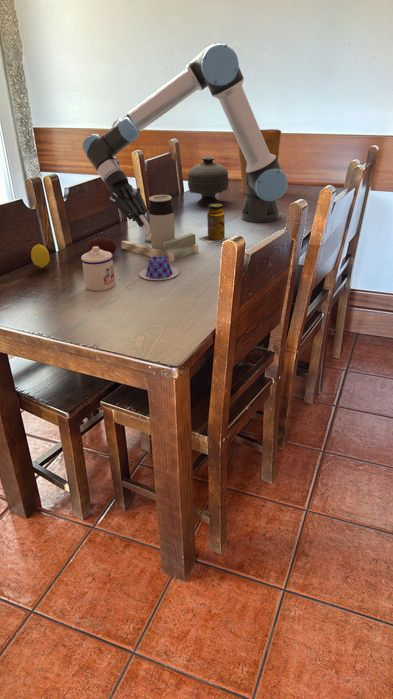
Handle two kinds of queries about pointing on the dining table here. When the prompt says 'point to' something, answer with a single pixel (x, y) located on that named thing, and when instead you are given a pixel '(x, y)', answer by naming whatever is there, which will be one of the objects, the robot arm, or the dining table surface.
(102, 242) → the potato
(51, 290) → the dining table surface
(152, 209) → the travel mug
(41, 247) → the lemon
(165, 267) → the pudding
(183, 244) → the rail channel
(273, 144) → the pancake mix bag
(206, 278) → the dining table surface
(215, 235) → the condiment
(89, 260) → the teacup with lid
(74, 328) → the dining table surface
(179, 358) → the dining table surface
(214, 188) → the pot
